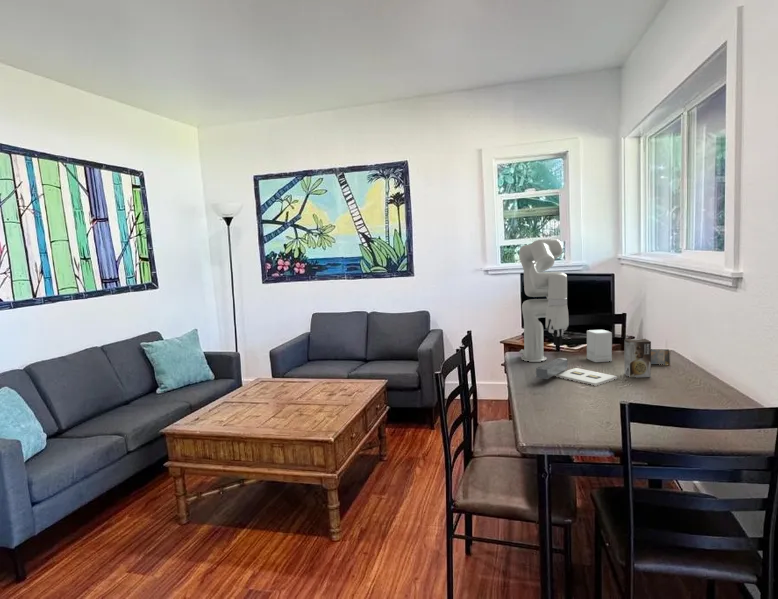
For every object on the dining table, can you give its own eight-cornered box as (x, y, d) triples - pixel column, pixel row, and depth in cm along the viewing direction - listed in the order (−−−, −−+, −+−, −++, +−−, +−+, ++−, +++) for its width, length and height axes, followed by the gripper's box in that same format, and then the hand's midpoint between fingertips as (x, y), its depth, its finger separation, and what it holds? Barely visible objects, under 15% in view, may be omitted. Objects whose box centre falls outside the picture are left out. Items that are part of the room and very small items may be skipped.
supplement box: (612, 361, 236) (612, 332, 235) (595, 362, 236) (595, 333, 234) (603, 357, 245) (603, 329, 244) (586, 358, 245) (586, 330, 243)
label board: (549, 375, 217) (549, 370, 217) (570, 369, 226) (570, 364, 226) (595, 386, 198) (595, 380, 198) (617, 378, 207) (617, 373, 206)
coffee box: (644, 373, 213) (645, 338, 211) (651, 377, 207) (651, 341, 205) (623, 373, 214) (624, 338, 212) (629, 377, 208) (629, 341, 206)
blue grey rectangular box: (644, 365, 227) (644, 346, 226) (642, 364, 230) (642, 344, 229) (670, 366, 224) (670, 346, 223) (668, 364, 227) (669, 345, 226)
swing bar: (558, 365, 223) (558, 357, 223) (569, 367, 220) (569, 358, 220) (536, 377, 206) (536, 368, 205) (547, 379, 202) (547, 370, 202)
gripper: (561, 300, 207) (561, 341, 209) (538, 303, 199) (539, 346, 201) (576, 301, 201) (576, 343, 203) (553, 304, 193) (554, 349, 195)
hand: (557, 345), depth 202 cm, fingers closed
